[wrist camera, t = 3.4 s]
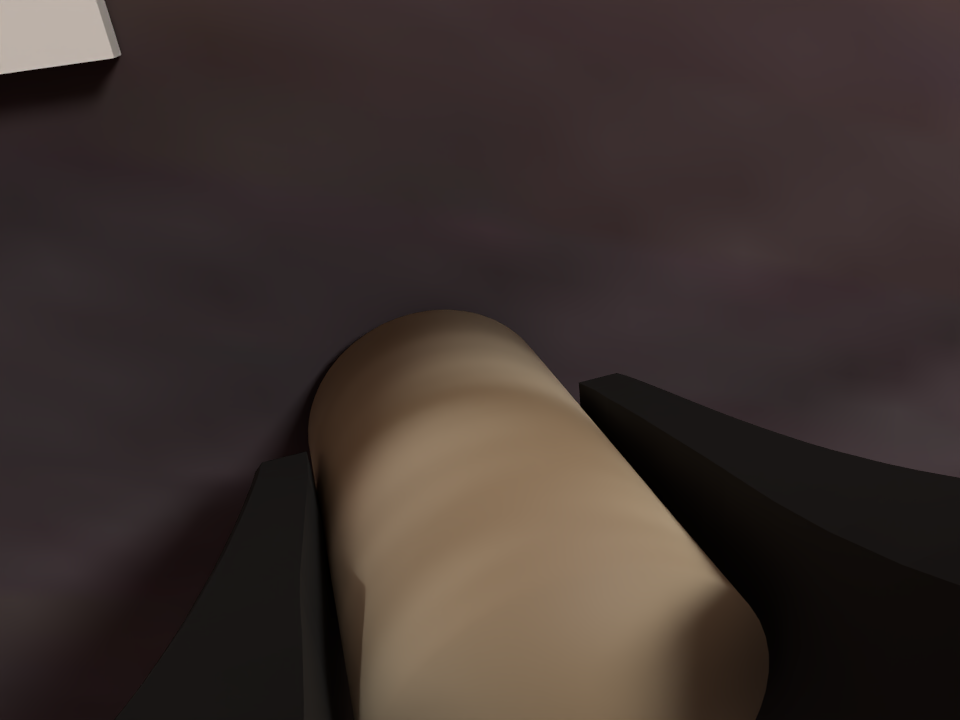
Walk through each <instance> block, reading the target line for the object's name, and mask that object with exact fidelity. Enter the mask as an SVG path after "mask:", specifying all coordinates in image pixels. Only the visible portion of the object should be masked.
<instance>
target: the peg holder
mask: <svg viewBox="0 0 960 720" xmlns="http://www.w3.org/2000/svg"><path fill="white" fill-rule="evenodd" d="M120 55H121V52H120V49H119V46H118V43H117V39H116V36H115V33H114V30H113V26H112V23H111V20H110V17H109V14H108V10H107V7H106V4H105V1H104V0H0V74H6V73H13V72H20V71H27V70H34V69H41V68H48V67H55V66H62V65H69V64H76V63H84V62H91V61H98V60H105V59H112V58H116V57H118V56H120Z"/></svg>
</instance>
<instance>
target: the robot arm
mask: <svg viewBox="0 0 960 720" xmlns="http://www.w3.org/2000/svg"><path fill="white" fill-rule="evenodd" d="M579 390H580V406H581V408H582V409H583V410H584V411H585V412H586V414H587V415H588V416H589V417H590V418H591V419H592V421H593V422H594V423H595V424H596V425H597V427H598V428H599V429H600V430H601V431H602V432H603V434H604V435H605V436H606V437H607V438H608V439H609V441H610V442H611V443H612V444H613V445H614V447H615V448H616V449H617V450H618V451H619V452H620V454H621V455H622V456H623V457H624V458H625V459H626V461H627V462H628V463H629V464H630V465H631V467H632V468H633V469H634V470H635V471H636V472H637V474H638V475H639V476H640V477H641V478H642V479H643V481H644V482H645V483H646V484H647V485H648V487H649V488H650V489H651V490H652V491H653V492H654V494H655V495H656V496H657V497H658V498H659V500H660V501H661V502H662V503H663V504H664V505H665V507H666V508H667V509H668V510H669V511H670V512H671V514H672V515H673V516H674V517H675V518H676V520H677V521H678V522H679V523H680V524H681V525H682V527H683V528H684V529H685V530H686V531H687V532H688V534H689V535H690V536H691V537H692V538H693V540H694V541H695V542H696V543H697V544H698V545H699V547H700V548H701V549H702V550H703V551H704V552H705V554H706V555H707V556H708V557H709V558H710V560H711V561H712V562H713V563H714V564H715V565H716V567H717V568H718V569H719V570H720V571H721V572H722V574H723V575H724V576H725V577H726V578H727V580H728V581H729V582H730V583H731V584H732V585H733V587H734V588H735V589H736V590H737V591H738V592H739V594H740V595H741V596H742V597H743V598H744V600H745V601H746V602H747V603H748V604H749V605H750V607H751V608H752V610H753V611H754V613H755V614H756V616H757V618H758V619H759V621H760V623H761V626H762V628H763V631H764V633H765V636H766V641H767V646H768V652H769V674H768V680H767V686H766V692H765V695H764V698H763V701H762V704H761V708H760V710H759V713H758V715H757V717H756V719H755V720H960V478H957V477H952V476H946V475H941V474H935V473H930V472H924V471H918V470H914V469H909V468H904V467H899V466H895V465H890V464H886V463H881V462H878V461H874V460H870V459H866V458H862V457H858V456H854V455H850V454H846V453H842V452H838V451H834V450H830V449H827V448H824V447H820V446H817V445H813V444H810V443H806V442H803V441H800V440H797V439H794V438H791V437H788V436H785V435H782V434H779V433H776V432H773V431H770V430H767V429H764V428H761V427H758V426H755V425H753V424H750V423H747V422H744V421H741V420H739V419H736V418H733V417H731V416H728V415H725V414H723V413H720V412H718V411H715V410H713V409H710V408H707V407H705V406H702V405H700V404H697V403H695V402H692V401H690V400H687V399H685V398H682V397H680V396H677V395H675V394H672V393H670V392H667V391H665V390H662V389H660V388H657V387H655V386H652V385H650V384H647V383H645V382H642V381H639V380H637V379H634V378H631V377H628V376H625V375H621V374H618V373H615V374H611V375H607V376H604V377H600V378H596V379H592V380H588V381H584V382H580V383H579ZM115 720H354V714H353V708H352V701H351V695H350V689H349V683H348V677H347V671H346V665H345V659H344V653H343V647H342V641H341V635H340V629H339V623H338V617H337V611H336V605H335V599H334V593H333V587H332V581H331V575H330V569H329V563H328V557H327V551H326V543H325V535H324V529H323V523H322V517H321V511H320V505H319V499H318V493H317V489H316V485H315V481H314V478H313V474H312V470H311V466H310V463H309V459H308V455H307V451H306V452H303V453H299V454H295V455H291V456H287V457H283V458H279V459H275V460H271V461H267V462H263V463H262V464H261V465H260V467H259V468H258V469H257V471H256V473H255V476H254V479H253V482H252V484H251V487H250V490H249V493H248V495H247V498H246V500H245V503H244V505H243V508H242V510H241V512H240V514H239V517H238V519H237V521H236V524H235V526H234V528H233V530H232V532H231V534H230V537H229V539H228V541H227V543H226V545H225V547H224V549H223V551H222V553H221V555H220V557H219V559H218V561H217V563H216V565H215V567H214V569H213V571H212V573H211V575H210V577H209V578H208V580H207V582H206V584H205V586H204V587H203V589H202V591H201V593H200V594H199V596H198V598H197V600H196V601H195V603H194V605H193V607H192V609H191V610H190V612H189V614H188V616H187V617H186V619H185V621H184V622H183V624H182V625H181V627H180V629H179V630H178V632H177V633H176V635H175V637H174V638H173V640H172V641H171V643H170V644H169V646H168V647H167V649H166V650H165V652H164V653H163V655H162V656H161V658H160V659H159V661H158V662H157V664H156V665H155V666H154V668H153V669H152V671H151V672H150V674H149V675H148V677H147V678H146V679H145V681H144V682H143V684H142V685H141V686H140V688H139V689H138V690H137V692H136V693H135V694H134V696H133V697H132V698H131V700H130V701H129V702H128V703H127V705H126V706H125V707H124V709H123V710H122V711H121V712H120V714H119V715H118V716H117V717H116V719H115Z"/></svg>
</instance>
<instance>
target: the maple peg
mask: <svg viewBox="0 0 960 720" xmlns="http://www.w3.org/2000/svg"><path fill="white" fill-rule="evenodd" d="M308 443H309V449H310V455H311V461H312V467H313V473H314V479H315V485H316V489H317V493H318V499H319V505H320V511H321V517H322V523H323V529H324V535H325V543H326V551H327V557H328V563H329V569H330V575H331V581H332V587H333V593H334V599H335V605H336V611H337V617H338V623H339V629H340V635H341V641H342V647H343V653H344V659H345V665H346V671H347V677H348V683H349V689H350V695H351V701H352V708H353V714H354V720H755V719H756V717H757V715H758V713H759V710H760V708H761V704H762V701H763V698H764V695H765V692H766V686H767V680H768V674H769V652H768V646H767V641H766V636H765V633H764V631H763V628H762V626H761V623H760V621H759V619H758V618H757V616H756V614H755V613H754V611H753V610H752V608H751V607H750V605H749V604H748V603H747V602H746V601H745V600H744V598H743V597H742V596H741V595H740V594H739V592H738V591H737V590H736V589H735V588H734V587H733V585H732V584H731V583H730V582H729V581H728V580H727V578H726V577H725V576H724V575H723V574H722V572H721V571H720V570H719V569H718V568H717V567H716V565H715V564H714V563H713V562H712V561H711V560H710V558H709V557H708V556H707V555H706V554H705V552H704V551H703V550H702V549H701V548H700V547H699V545H698V544H697V543H696V542H695V541H694V540H693V538H692V537H691V536H690V535H689V534H688V532H687V531H686V530H685V529H684V528H683V527H682V525H681V524H680V523H679V522H678V521H677V520H676V518H675V517H674V516H673V515H672V514H671V512H670V511H669V510H668V509H667V508H666V507H665V505H664V504H663V503H662V502H661V501H660V500H659V498H658V497H657V496H656V495H655V494H654V492H653V491H652V490H651V489H650V488H649V487H648V485H647V484H646V483H645V482H644V481H643V479H642V478H641V477H640V476H639V475H638V474H637V472H636V471H635V470H634V469H633V468H632V467H631V465H630V464H629V463H628V462H627V461H626V459H625V458H624V457H623V456H622V455H621V454H620V452H619V451H618V450H617V449H616V448H615V447H614V445H613V444H612V443H611V442H610V441H609V439H608V438H607V437H606V436H605V435H604V434H603V432H602V431H601V430H600V429H599V428H598V427H597V425H596V424H595V423H594V422H593V421H592V419H591V418H590V417H589V416H588V415H587V414H586V412H585V411H584V410H583V409H582V408H581V407H580V405H579V404H578V403H577V402H576V401H575V399H574V398H573V397H572V396H571V395H570V394H569V392H568V391H567V390H566V389H565V388H564V387H563V385H562V384H561V383H560V382H559V381H558V379H557V378H556V377H555V376H554V375H553V374H552V372H551V371H550V370H549V369H548V368H547V367H546V365H545V364H544V363H543V362H542V361H541V359H540V358H539V357H538V356H537V355H536V354H535V352H534V351H533V350H532V349H531V348H530V347H529V345H528V344H527V343H526V342H525V341H524V340H523V339H522V338H521V337H520V336H519V335H517V334H516V333H515V332H513V331H512V330H511V329H510V328H508V327H506V326H505V325H503V324H501V323H499V322H497V321H496V320H493V319H491V318H488V317H485V316H483V315H480V314H475V313H471V312H467V311H458V310H430V311H424V312H417V313H413V314H409V315H406V316H402V317H399V318H396V319H394V320H392V321H389V322H387V323H385V324H382V325H380V326H379V327H377V328H375V329H373V330H372V331H370V332H368V333H366V334H365V335H364V336H362V337H361V338H360V339H358V340H357V341H356V342H354V343H353V344H352V345H351V346H350V347H349V348H348V349H347V350H346V351H345V352H344V353H342V354H341V355H340V357H339V358H338V359H337V360H336V361H335V363H334V364H333V365H332V366H331V368H330V369H329V370H328V372H327V374H326V375H325V377H324V379H323V380H322V382H321V384H320V386H319V388H318V390H317V393H316V395H315V397H314V400H313V404H312V408H311V411H310V417H309V424H308Z"/></svg>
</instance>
